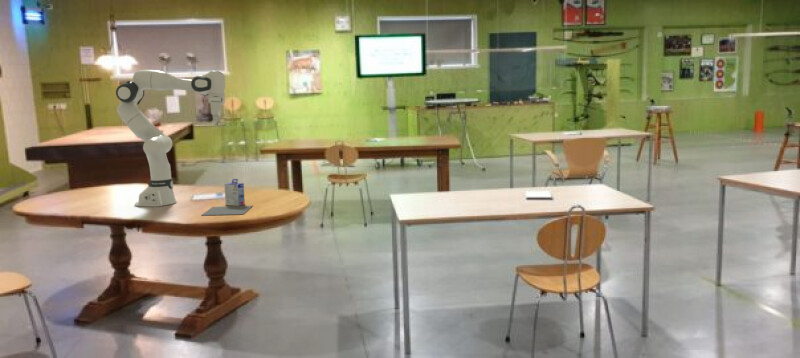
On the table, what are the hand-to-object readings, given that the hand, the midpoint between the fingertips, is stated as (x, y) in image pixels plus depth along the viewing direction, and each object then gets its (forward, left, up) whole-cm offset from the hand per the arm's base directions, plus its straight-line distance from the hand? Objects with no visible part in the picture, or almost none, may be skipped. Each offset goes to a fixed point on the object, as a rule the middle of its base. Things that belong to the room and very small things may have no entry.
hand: (215, 124), depth 361 cm
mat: (+10, -25, -45) cm, 52 cm away
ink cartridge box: (+10, -9, -45) cm, 47 cm away
